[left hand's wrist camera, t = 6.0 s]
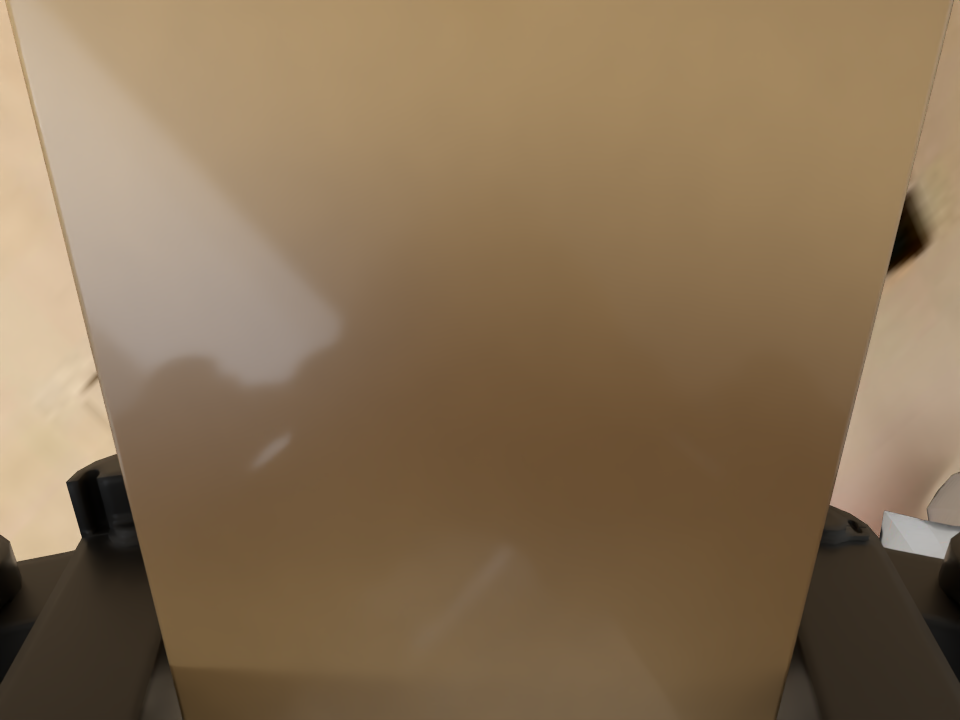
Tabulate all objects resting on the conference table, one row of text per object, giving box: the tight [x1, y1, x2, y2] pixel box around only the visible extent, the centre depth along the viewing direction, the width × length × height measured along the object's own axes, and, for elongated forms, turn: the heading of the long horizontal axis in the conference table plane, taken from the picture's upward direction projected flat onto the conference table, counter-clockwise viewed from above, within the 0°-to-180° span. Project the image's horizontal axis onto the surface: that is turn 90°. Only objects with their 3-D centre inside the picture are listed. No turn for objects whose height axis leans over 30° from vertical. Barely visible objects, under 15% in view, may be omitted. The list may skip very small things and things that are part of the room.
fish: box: [879, 472, 960, 559], centre depth 24 cm, size 11×16×10 cm
